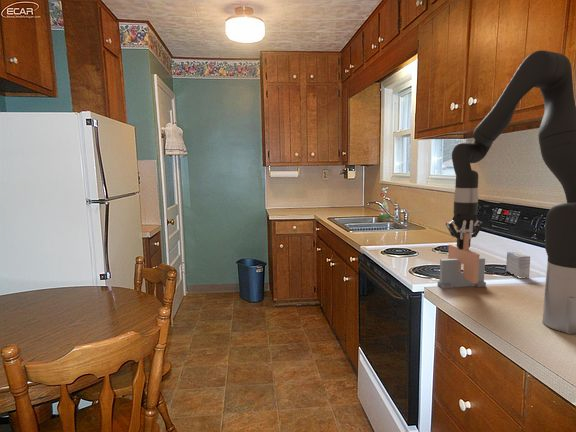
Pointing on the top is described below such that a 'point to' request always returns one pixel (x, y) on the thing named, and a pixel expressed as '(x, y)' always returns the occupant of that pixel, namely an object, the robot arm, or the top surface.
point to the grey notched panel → (458, 274)
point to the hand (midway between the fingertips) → (463, 248)
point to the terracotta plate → (466, 259)
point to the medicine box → (518, 264)
